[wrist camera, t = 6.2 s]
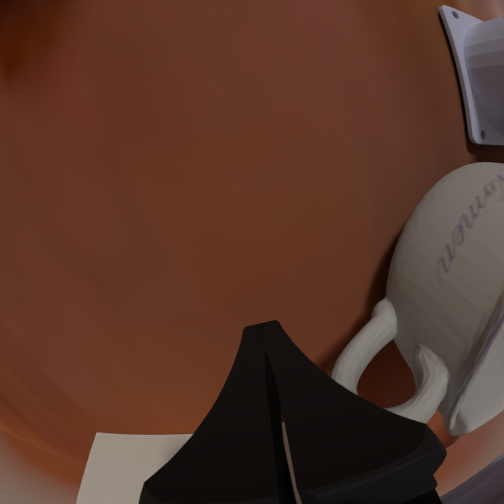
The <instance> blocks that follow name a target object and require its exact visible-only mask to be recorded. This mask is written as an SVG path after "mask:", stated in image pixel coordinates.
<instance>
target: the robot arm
mask: <svg viewBox="0 0 504 504" xmlns="http://www.w3.org/2000/svg"><path fill="white" fill-rule="evenodd" d="M439 12H440V15H441V17H442V20H443V23H444V26H445V29H446V32H447V35H448V38H449V41H450V44H451V48H452V51H453V55H454V59H455V62H456V66H457V70H458V75H459V79H460V84H461V89H462V94H463V99H464V105H465V112H466V119H467V127H468V135H469V138H470V140H471V142H472V143H474V144H487V145H504V17H500V18H496V19H492V20H488V21H485V22H483V21H481V20H479V19H477V18H475V17H473V16H470V15H468V14H466V13H463V12H461V11H459V10H456V9H454V8H451V7H448V6H445V5H444V6H441V7H440V8H439ZM280 408H281V411H282V414H283V419H284V424H285V429H286V434H287V439H288V444H289V450H290V455H291V460H292V466H293V471H294V476H295V482H296V487H297V491H298V493H299V496H300V499H301V502H302V504H504V453H503V454H501V455H500V456H499V457H498V458H497V459H495V460H494V461H493V462H491V463H490V464H489V465H488V466H486V467H485V468H484V469H482V470H481V471H479V472H478V473H477V474H475V475H474V476H472V477H471V478H470V479H468V480H467V481H465V482H464V483H462V484H461V485H459V486H457V487H456V488H454V489H453V490H451V491H449V492H448V493H446V494H444V495H443V496H441V497H439V496H438V494H437V492H436V490H435V487H436V486H437V482H436V480H435V478H434V476H433V474H434V473H435V472H436V471H437V469H438V468H439V467H440V465H441V464H442V463H443V461H444V459H445V457H446V455H447V452H446V449H445V448H444V446H443V444H442V443H441V441H440V439H439V438H438V437H437V436H436V435H435V433H434V432H433V431H432V430H431V429H430V428H429V427H428V426H427V424H425V423H422V422H418V421H415V420H412V419H409V418H406V417H403V416H401V415H398V414H395V413H393V412H391V411H388V410H386V409H384V408H381V407H379V406H377V405H375V404H373V403H371V402H369V401H368V400H366V399H364V398H362V397H360V396H358V395H356V394H355V393H353V392H351V391H350V390H348V389H347V388H345V387H344V386H342V385H341V384H339V383H338V382H336V381H335V380H334V379H332V378H331V377H329V376H328V375H327V374H326V373H324V372H323V371H322V370H321V369H320V368H318V367H317V366H316V365H315V364H314V363H313V362H312V361H311V360H310V359H309V358H308V357H307V356H305V354H304V353H303V352H302V351H301V350H300V349H299V348H298V347H297V346H296V345H295V344H294V343H293V341H292V340H291V339H290V338H289V337H288V335H287V334H286V333H285V331H284V330H283V328H282V327H281V325H280V323H279V322H278V321H276V320H273V321H269V322H265V323H260V324H256V325H252V326H247V327H245V328H244V330H243V335H242V339H241V343H240V346H239V350H238V353H237V356H236V358H235V361H234V364H233V366H232V369H231V371H230V373H229V376H228V378H227V380H226V382H225V384H224V386H223V389H222V390H221V392H220V394H219V396H218V398H217V400H216V401H215V403H214V405H213V406H212V408H211V410H210V411H209V413H208V414H207V416H206V417H205V419H204V420H203V421H202V423H201V424H200V426H199V427H198V428H197V430H196V431H195V432H194V434H193V435H192V436H191V437H190V438H189V439H188V441H187V442H186V443H185V444H184V445H183V446H182V447H181V448H180V450H179V451H178V452H177V453H176V454H175V455H174V456H173V457H172V458H171V459H170V460H169V461H168V462H167V463H166V464H165V465H163V466H162V467H161V468H160V469H159V470H158V471H157V472H156V473H154V474H153V475H152V476H151V477H150V478H148V479H147V480H146V481H145V482H144V484H143V488H142V491H141V494H140V498H139V504H297V502H296V497H295V493H294V488H293V484H292V479H291V475H290V470H289V465H288V461H287V456H286V451H285V446H284V439H283V430H282V420H281V411H280Z"/></svg>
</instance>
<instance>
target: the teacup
mask: <svg viewBox="0 0 504 504" xmlns="http://www.w3.org/2000/svg"><path fill="white" fill-rule="evenodd" d="M393 339H394V341H395V344H396V346H397V347H398V349H399V351H400V353H401V355H402V356H403V358H404V360H405V361H406V363H407V364H408V366H409V368H410V369H411V371H412V373H413V377H414V380H415V384H416V390H415V393H414V395H413V396H412V397H411V398H410V399H409V400H407V401H406V402H405V403H403V404H401V405H398V406H395V407H391V408H384V409H386V410H388V411H391V412H393V413H395V414H398V415H401V416H403V417H406V418H409V419H412V420H415V421H418V422H422V423H425V424H426V423H427V422H428V421H429V420H430V418H431V417H432V416H433V414H434V413H435V412H436V410H437V409H438V411H439V412H440V414H441V415H442V417H443V419H444V422H445V427H446V429H447V431H448V432H449V434H451V435H453V436H460V435H462V434H465V433H469V432H472V431H473V430H474V429H476V428H478V427H480V426H482V425H483V424H485V423H486V422H488V421H489V420H491V419H492V418H494V417H495V416H496V415H497V414H499V413H500V412H501V411H502V410H503V409H504V164H502V163H493V162H480V163H473V164H468V165H465V166H462V167H460V168H458V169H456V170H454V171H452V172H450V173H449V174H447V175H446V176H444V177H443V178H442V179H440V180H439V181H438V182H437V183H436V184H435V185H434V186H433V187H432V188H431V189H430V190H429V191H428V192H427V193H426V194H425V196H424V197H423V198H422V199H421V201H420V202H419V203H418V205H417V206H416V207H415V209H414V211H413V212H412V214H411V216H410V217H409V219H408V221H407V222H406V224H405V226H404V228H403V231H402V233H401V235H400V237H399V239H398V242H397V245H396V247H395V250H394V254H393V257H392V260H391V264H390V268H389V272H388V279H387V286H386V297H385V298H384V299H383V300H381V301H380V302H378V303H377V304H376V305H375V307H374V309H373V311H372V315H371V320H370V321H369V322H368V323H367V324H366V325H365V326H364V327H363V328H362V329H361V330H360V331H359V332H358V333H357V334H356V336H355V337H354V338H353V339H352V340H351V341H350V342H349V343H348V344H347V346H346V347H345V349H344V350H343V352H342V353H341V355H340V356H339V357H338V359H337V360H336V362H335V364H334V367H333V370H332V373H331V375H330V377H331V378H332V379H334V380H335V381H336V382H338V383H339V384H341V385H342V386H344V387H345V388H347V389H348V390H350V391H351V392H353V393H355V394H356V395H358V393H357V384H358V380H359V378H360V376H361V374H362V373H363V371H364V369H365V368H366V366H367V365H368V363H369V362H370V361H371V360H372V359H373V357H374V356H375V355H376V354H377V353H378V352H379V351H380V350H381V349H382V348H383V347H384V346H385V345H386V344H387V343H388V342H390V341H391V340H393Z"/></svg>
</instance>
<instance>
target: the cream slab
mask: <svg viewBox="0 0 504 504" xmlns="http://www.w3.org/2000/svg"><path fill="white" fill-rule="evenodd" d="M282 430H283V439H284V446H285V451H286V456H287V461H288V465H289V470H290V475H291V479H292V484H293V488H294V493H295V497H296V502H297V504H302V502H301V499H300V496H299V493H298V491H297V487H296V482H295V476H294V471H293V466H292V460H291V455H290V450H289V444H288V439H287V434H286V429H285V424H284V422H282ZM192 435H193V434H175V435H130V434H111V433H98V432H97V433H96V436H95V439H94V442H93V445H92V449H91V452H90V455H89V458H88V462H87V465H86V468H85V472H84V475H83V479H82V483H81V486H80V490H79V494H78V498H77V502H76V504H139V498H140V494H141V491H142V488H143V484H144V482H145V481H146V480H147V479H148V478H150V477H151V476H152V475H153V474H154V473H156V472H157V471H158V470H159V469H160V468H161V467H162V466H163V465H165V464H166V463H167V462H168V461H169V460H170V459H171V458H172V457H173V456H174V455H175V454H176V453H177V452H178V451H179V450H180V448H181V447H182V446H183V445H184V444H185V443H186V442H187V441H188V439H189V438H190V437H191V436H192Z"/></svg>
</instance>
